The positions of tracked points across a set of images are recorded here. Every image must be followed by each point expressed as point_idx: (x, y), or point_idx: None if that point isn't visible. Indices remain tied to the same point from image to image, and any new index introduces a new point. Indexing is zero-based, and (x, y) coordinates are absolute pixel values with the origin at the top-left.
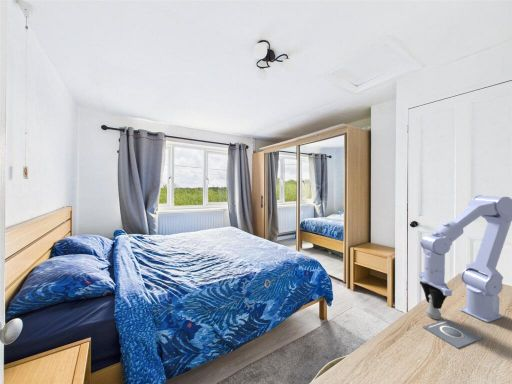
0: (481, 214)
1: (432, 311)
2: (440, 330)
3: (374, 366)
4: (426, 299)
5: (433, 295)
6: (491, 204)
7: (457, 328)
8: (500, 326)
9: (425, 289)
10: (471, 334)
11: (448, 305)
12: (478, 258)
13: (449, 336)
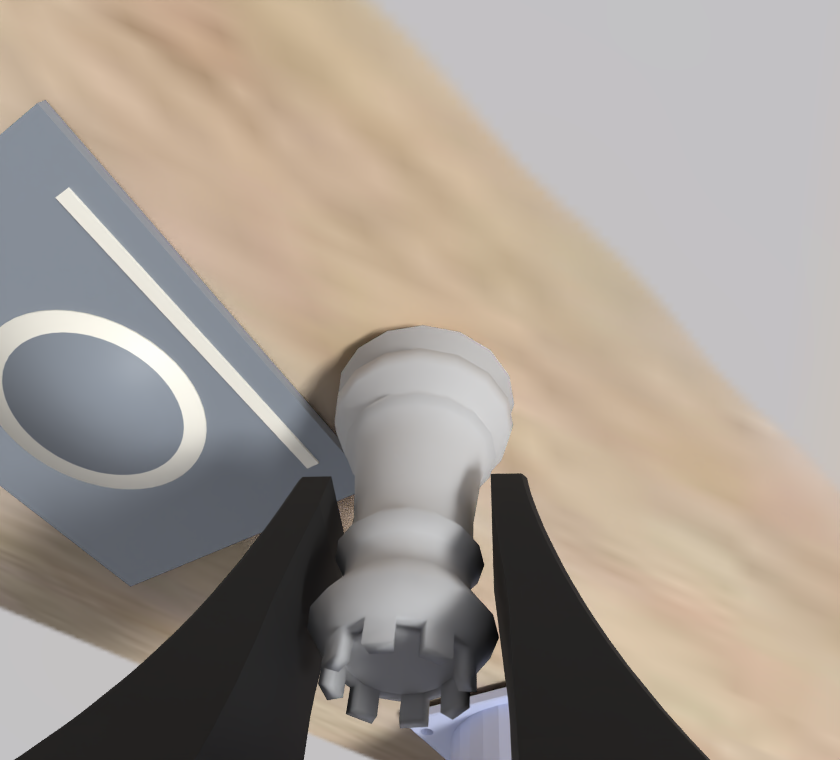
0: None
1: (359, 417)
2: (67, 308)
3: None
4: (513, 497)
5: (111, 700)
6: None
7: (204, 491)
8: (379, 741)
9: (513, 692)
10: (145, 542)
11: (692, 629)
12: None
13: None
